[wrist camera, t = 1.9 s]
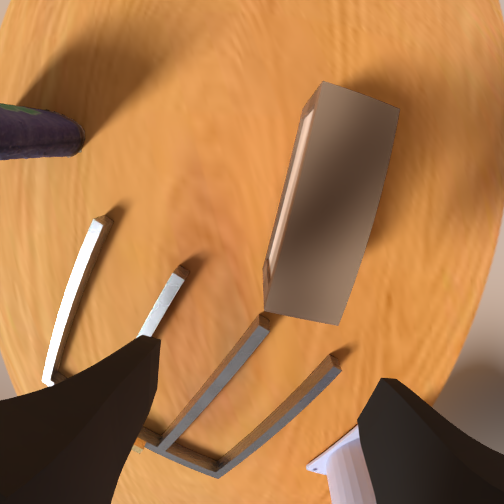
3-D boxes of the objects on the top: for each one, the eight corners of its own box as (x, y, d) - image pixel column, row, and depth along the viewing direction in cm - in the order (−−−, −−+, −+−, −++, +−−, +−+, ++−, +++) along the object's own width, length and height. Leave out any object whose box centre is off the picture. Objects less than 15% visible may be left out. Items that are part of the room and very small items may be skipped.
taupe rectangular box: (357, 125, 16) (400, 109, 11) (316, 280, 19) (338, 325, 13) (302, 108, 16) (322, 81, 11) (262, 268, 19) (263, 310, 13)
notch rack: (337, 358, 20) (345, 379, 18) (219, 467, 24) (217, 486, 22) (104, 214, 18) (85, 221, 16) (49, 372, 22) (36, 387, 20)
